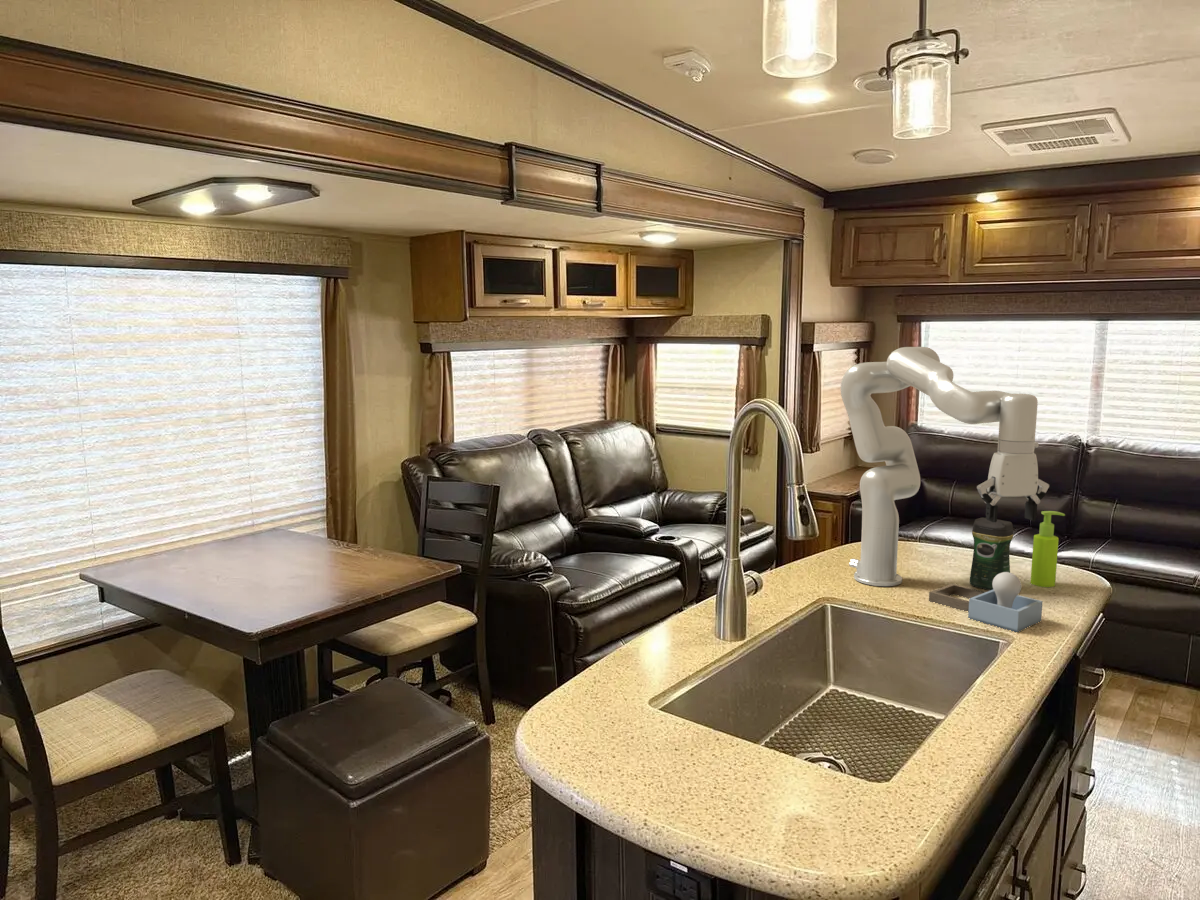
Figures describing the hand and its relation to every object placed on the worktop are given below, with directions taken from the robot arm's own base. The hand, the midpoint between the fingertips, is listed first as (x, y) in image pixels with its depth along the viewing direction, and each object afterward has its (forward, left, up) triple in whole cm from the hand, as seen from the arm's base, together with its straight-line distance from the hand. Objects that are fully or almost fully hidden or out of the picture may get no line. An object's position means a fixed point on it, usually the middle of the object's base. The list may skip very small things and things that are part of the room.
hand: (1010, 520), depth 190 cm
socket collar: (-13, +4, -24) cm, 28 cm away
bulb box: (0, 0, -24) cm, 24 cm away
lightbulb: (0, 0, -24) cm, 24 cm away
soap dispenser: (-7, +36, -24) cm, 44 cm away
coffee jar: (-15, +22, -24) cm, 36 cm away
